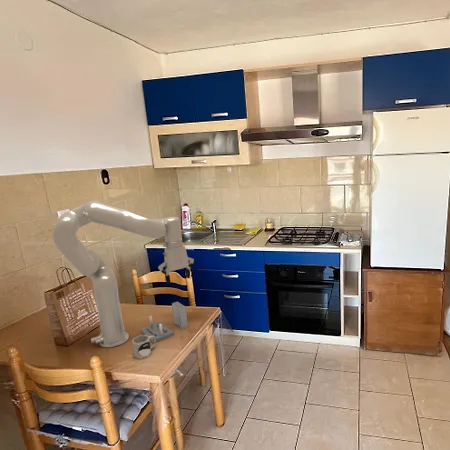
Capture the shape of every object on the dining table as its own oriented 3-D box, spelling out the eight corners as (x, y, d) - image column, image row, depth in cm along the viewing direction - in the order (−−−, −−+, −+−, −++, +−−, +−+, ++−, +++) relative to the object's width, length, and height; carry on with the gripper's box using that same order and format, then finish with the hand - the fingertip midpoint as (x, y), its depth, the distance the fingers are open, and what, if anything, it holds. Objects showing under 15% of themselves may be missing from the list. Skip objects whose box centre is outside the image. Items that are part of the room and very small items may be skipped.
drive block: (187, 326, 168) (185, 306, 166) (182, 329, 166) (179, 308, 164) (180, 321, 174) (177, 301, 173) (174, 323, 173) (171, 303, 171)
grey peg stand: (174, 335, 161) (172, 321, 160) (152, 343, 156) (150, 329, 154) (161, 324, 172) (159, 312, 171) (141, 332, 167) (139, 318, 166)
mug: (140, 360, 143) (138, 345, 142) (131, 355, 148) (129, 340, 147) (161, 349, 150) (159, 334, 149) (151, 344, 155) (149, 330, 154)
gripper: (158, 249, 158) (163, 287, 161) (195, 242, 166) (198, 277, 169) (153, 246, 164) (157, 282, 167) (188, 239, 172) (191, 274, 176)
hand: (178, 280), depth 168 cm, fingers open, 9 cm apart
